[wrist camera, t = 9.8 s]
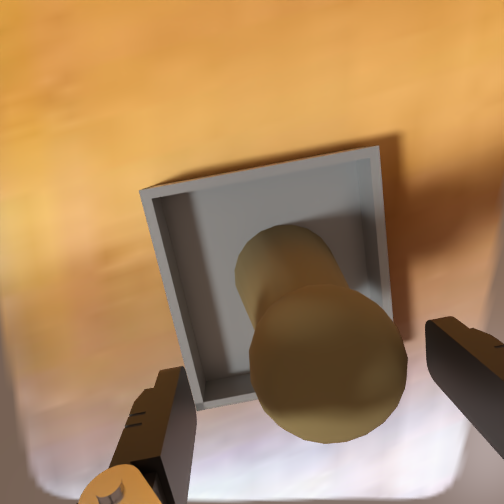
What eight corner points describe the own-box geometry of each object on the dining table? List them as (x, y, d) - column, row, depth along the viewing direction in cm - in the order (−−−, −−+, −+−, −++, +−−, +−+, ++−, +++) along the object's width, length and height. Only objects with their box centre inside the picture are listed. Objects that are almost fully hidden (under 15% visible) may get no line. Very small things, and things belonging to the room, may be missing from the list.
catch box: (150, 186, 20) (138, 190, 17) (360, 147, 20) (379, 145, 17) (200, 384, 23) (196, 411, 21) (380, 350, 23) (397, 372, 21)
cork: (343, 229, 20) (465, 305, 10) (327, 324, 22) (417, 480, 11) (239, 219, 20) (247, 288, 9) (229, 317, 21) (227, 473, 11)
